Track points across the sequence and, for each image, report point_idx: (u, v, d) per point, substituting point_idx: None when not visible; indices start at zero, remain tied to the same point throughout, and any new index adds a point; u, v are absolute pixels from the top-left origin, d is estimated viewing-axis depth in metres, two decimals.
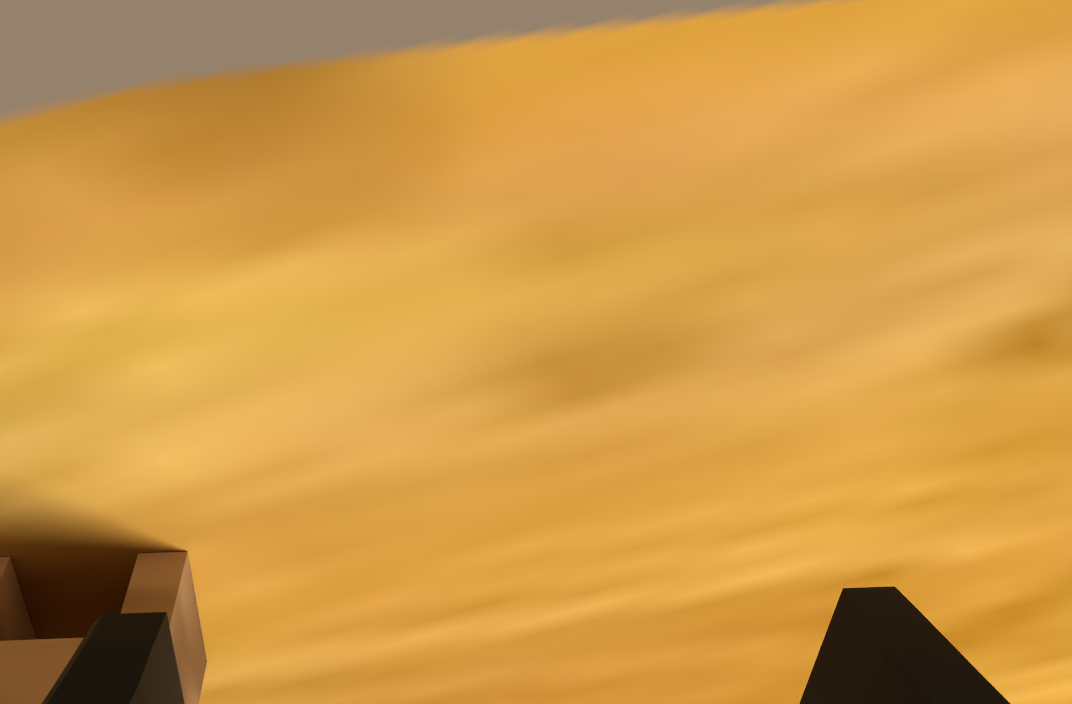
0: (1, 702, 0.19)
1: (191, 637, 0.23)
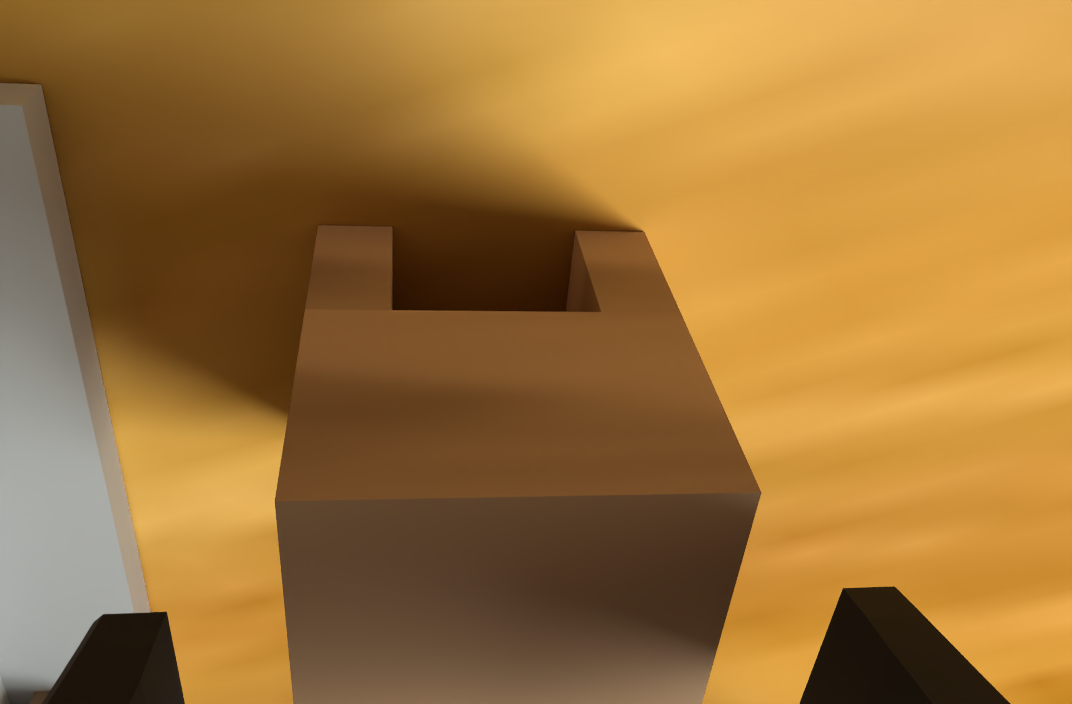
0: (478, 377, 0.12)
1: None
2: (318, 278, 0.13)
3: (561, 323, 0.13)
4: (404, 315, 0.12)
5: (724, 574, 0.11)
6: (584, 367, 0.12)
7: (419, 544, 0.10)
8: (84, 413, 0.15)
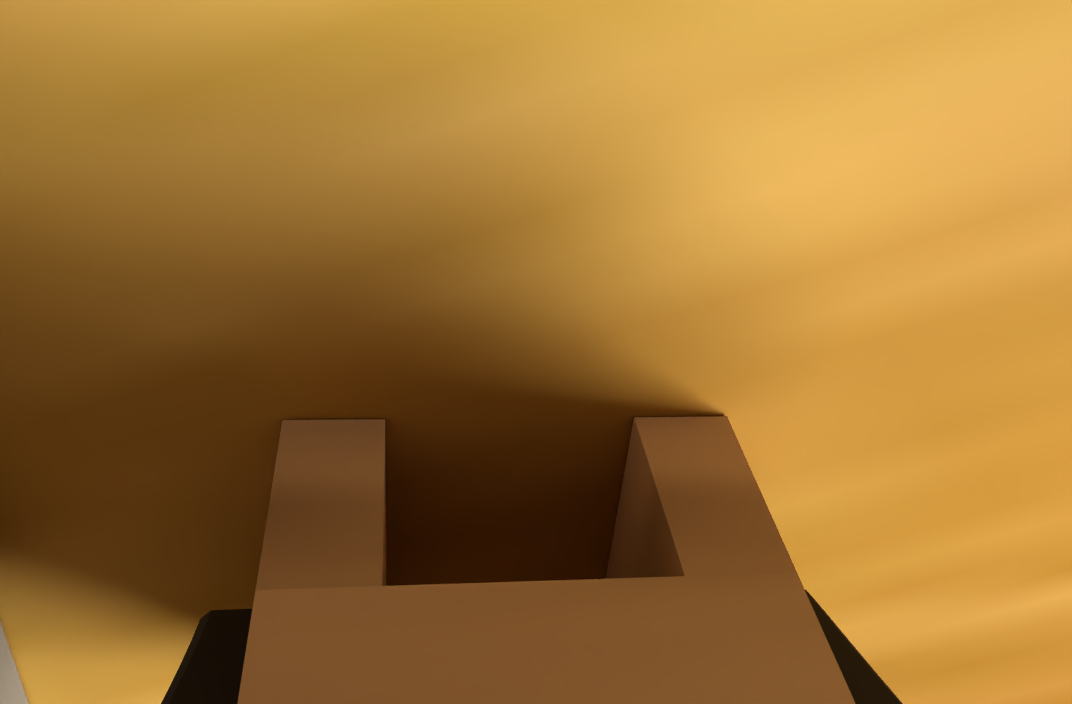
0: None
1: None
2: (278, 525, 0.09)
3: (630, 604, 0.09)
4: (401, 597, 0.09)
5: None
6: (673, 695, 0.08)
7: None
8: None
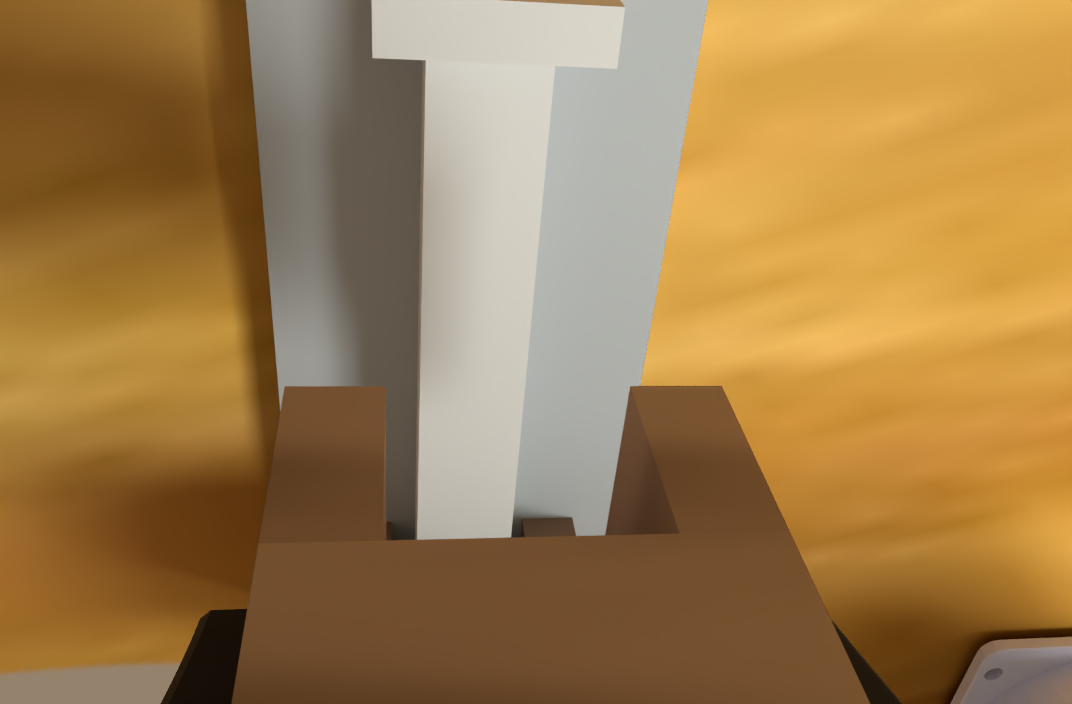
0: (512, 674, 0.08)
1: None
2: (280, 484, 0.09)
3: (626, 559, 0.09)
4: (401, 551, 0.09)
5: None
6: (666, 644, 0.08)
7: None
8: (659, 249, 0.17)
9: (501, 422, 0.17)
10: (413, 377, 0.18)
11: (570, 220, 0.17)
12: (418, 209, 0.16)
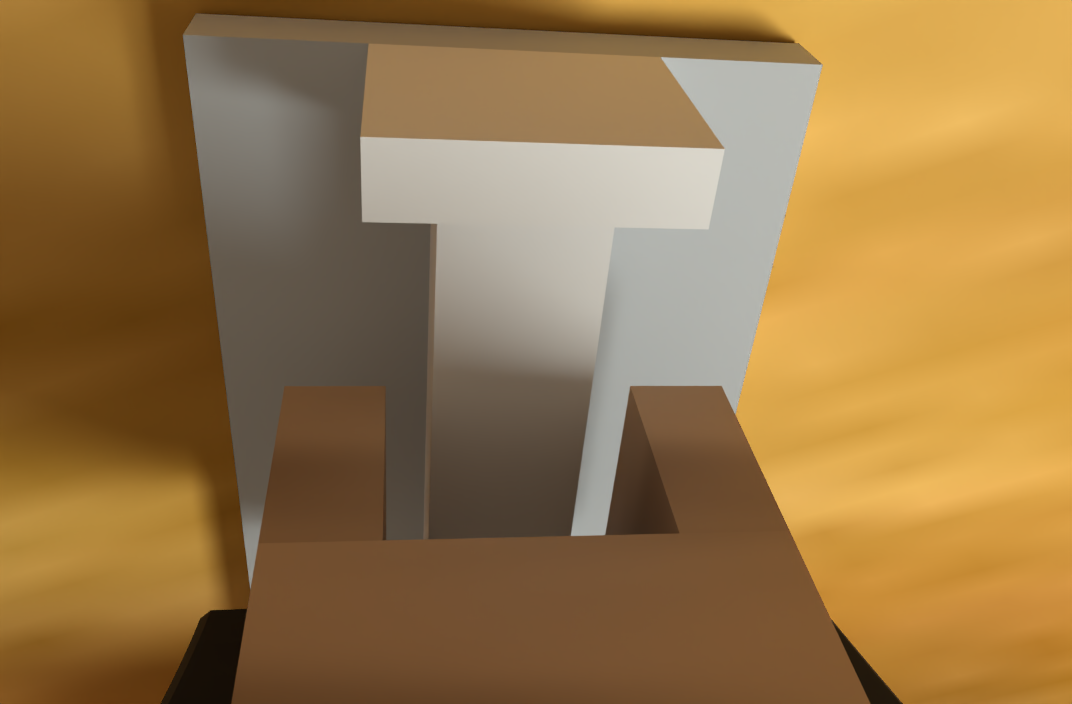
0: (512, 674, 0.08)
1: None
2: (280, 483, 0.09)
3: (626, 559, 0.09)
4: (401, 550, 0.09)
5: None
6: (666, 644, 0.08)
7: None
8: (732, 404, 0.14)
9: None
10: None
11: (620, 374, 0.13)
12: (425, 365, 0.13)
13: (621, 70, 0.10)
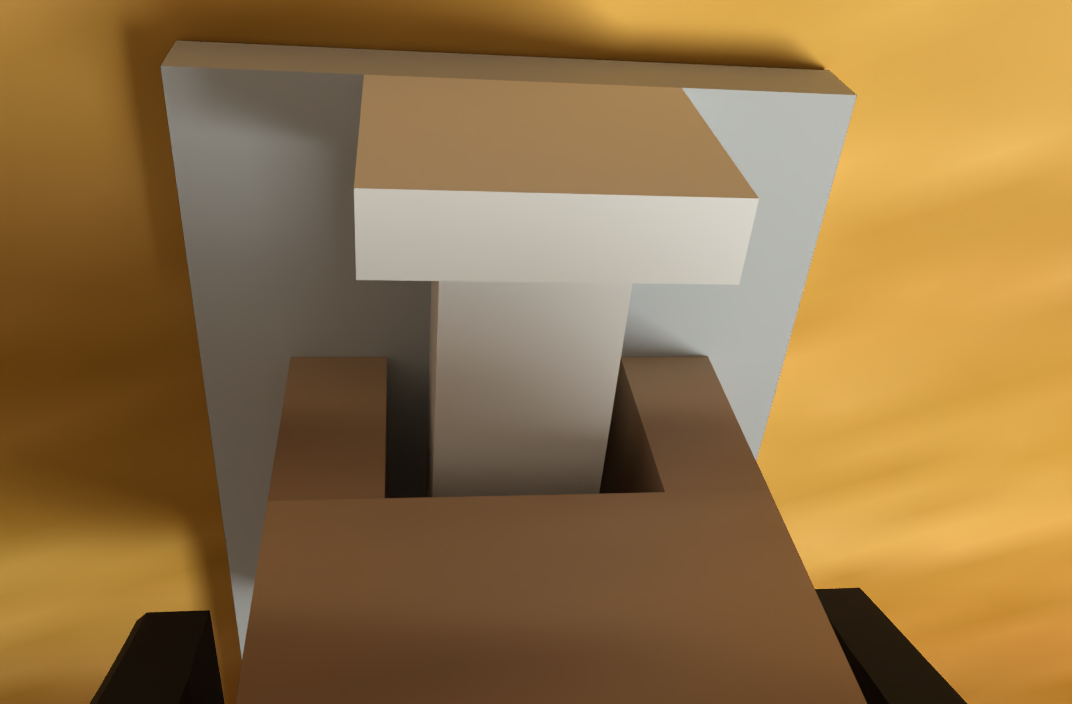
0: (506, 618, 0.08)
1: None
2: (288, 446, 0.10)
3: (614, 515, 0.09)
4: (402, 507, 0.09)
5: None
6: (651, 592, 0.09)
7: None
8: (753, 451, 0.13)
9: None
10: None
11: None
12: (425, 412, 0.12)
13: (640, 104, 0.09)
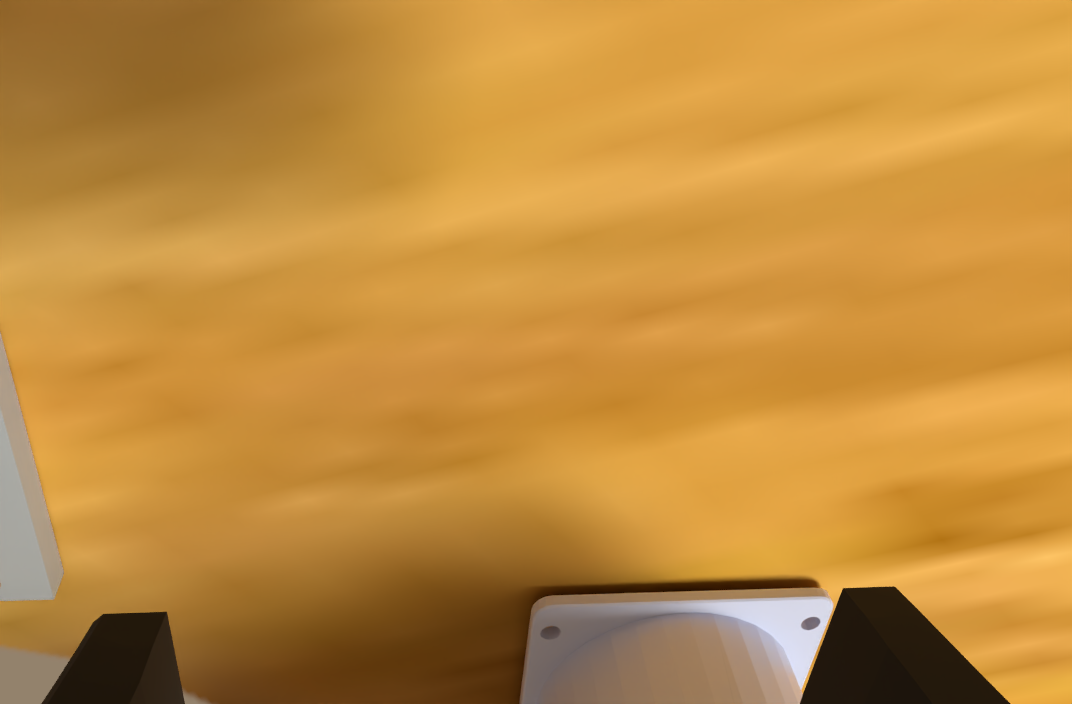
0: None
1: None
2: None
3: None
4: None
5: None
6: None
7: None
8: None
9: None
10: None
11: None
12: None
13: None
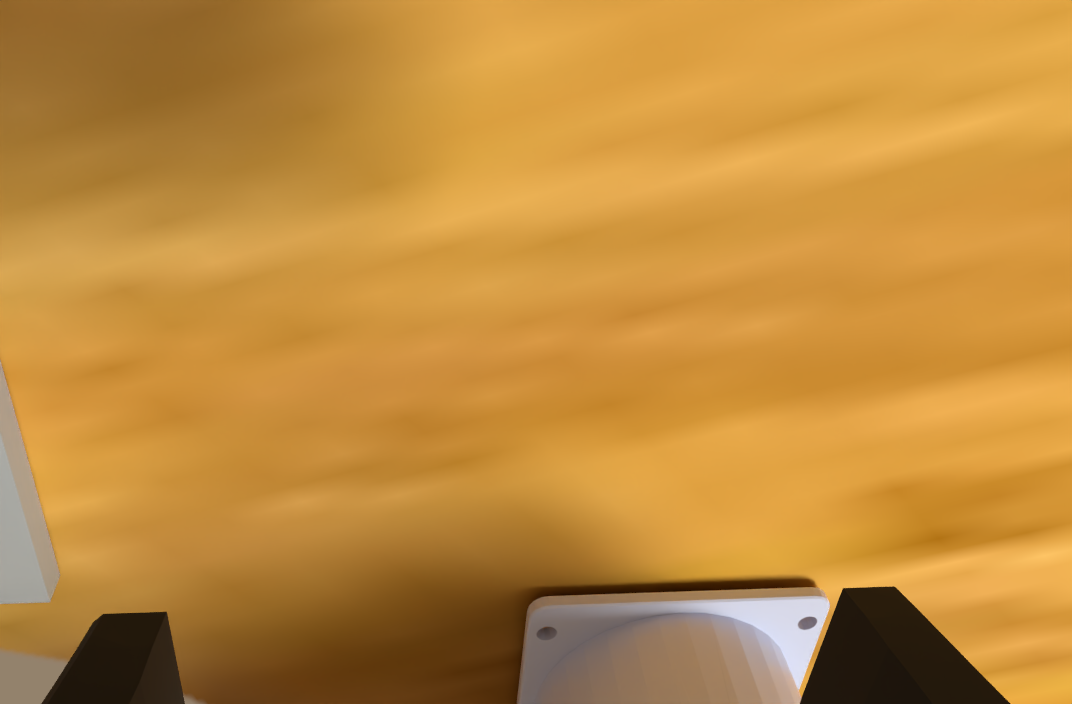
0: None
1: None
2: None
3: None
4: None
5: None
6: None
7: None
8: None
9: None
10: None
11: None
12: None
13: None
